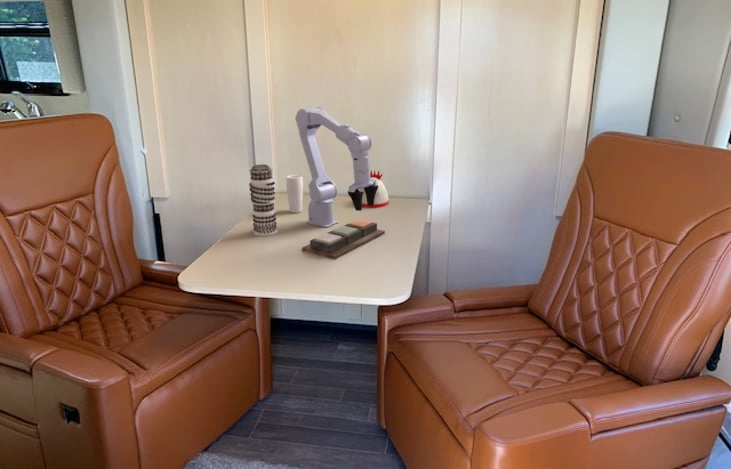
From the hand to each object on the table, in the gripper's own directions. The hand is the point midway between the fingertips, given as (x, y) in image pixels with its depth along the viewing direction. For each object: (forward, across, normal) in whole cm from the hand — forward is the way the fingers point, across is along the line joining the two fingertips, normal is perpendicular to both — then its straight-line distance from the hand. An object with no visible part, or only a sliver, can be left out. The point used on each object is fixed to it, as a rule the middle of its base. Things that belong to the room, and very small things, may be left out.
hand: (364, 207), depth 187 cm
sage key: (+8, -10, +3) cm, 13 cm away
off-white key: (+8, -19, +3) cm, 21 cm away
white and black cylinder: (+8, -17, +34) cm, 39 cm away
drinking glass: (+7, +9, +42) cm, 43 cm away
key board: (+10, -10, +3) cm, 14 cm away
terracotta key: (+8, 0, +3) cm, 8 cm away
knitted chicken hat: (+8, +37, +22) cm, 43 cm away
